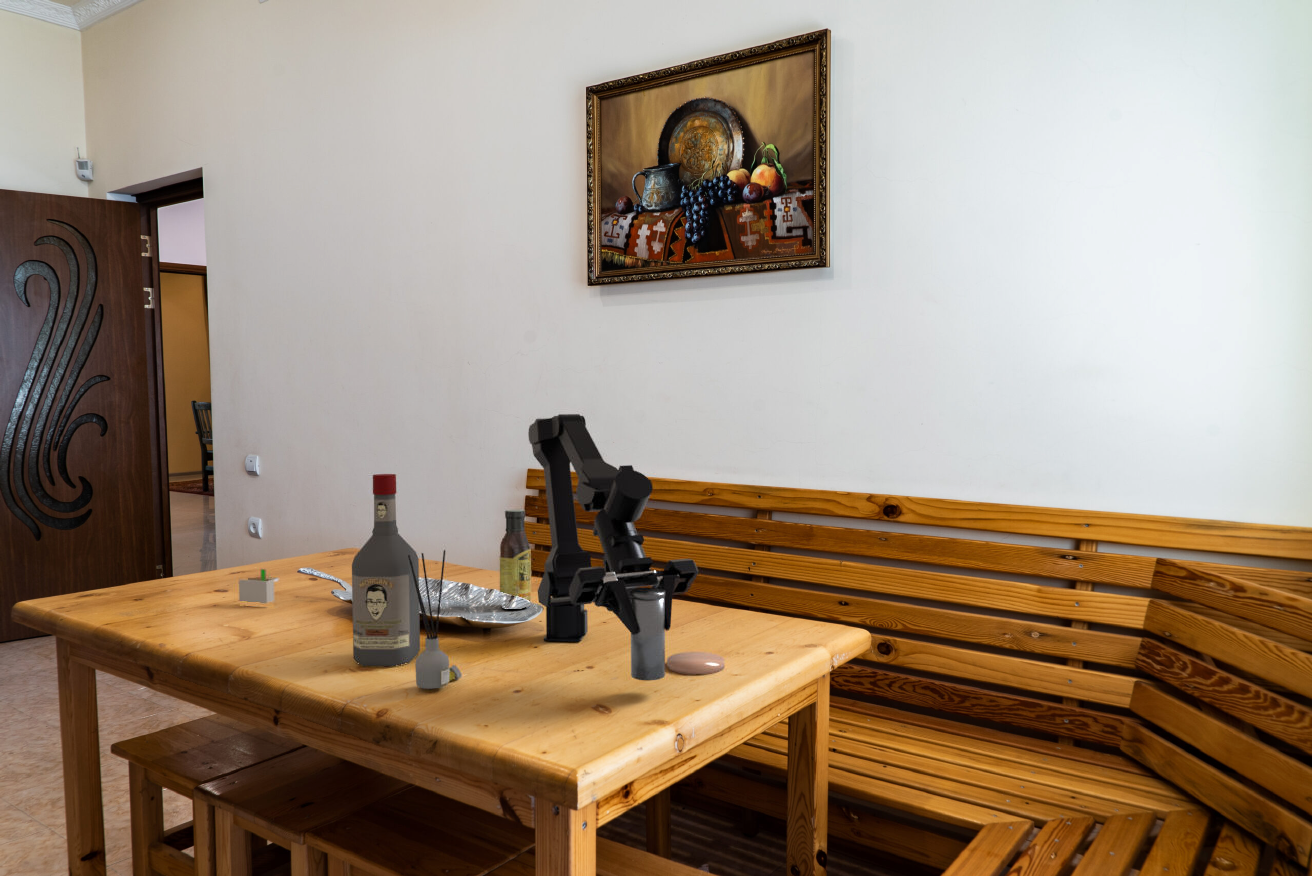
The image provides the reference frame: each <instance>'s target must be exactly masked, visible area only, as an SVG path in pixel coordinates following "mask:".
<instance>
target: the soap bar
mask: <svg viewBox="0 0 1312 876" xmlns="http://www.w3.org/2000/svg"><path fill="white" fill-rule="evenodd" d="M666 667H667V669H669V670H670V671H672V672H675V673H678V674H684V675H693V676H694V675H696V674H700V675H710V674H714V673H718V672H721V671H722V670H724V668H725V658H724V657H723V656H721V655H720V654H716V653H712V652H706V651H705V652H703V651H685V652H684V651H683V652H678V653H674V654H672V655H669V656H668V657H667V658H666Z"/></svg>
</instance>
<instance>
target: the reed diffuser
mask: <svg viewBox="0 0 1312 876" xmlns="http://www.w3.org/2000/svg"><path fill="white" fill-rule="evenodd" d="M442 553H443V554H442V563H441V575H440V584H439V594H438V595H439V596H438V605H437V612H436V625H435V626H434V620H433V613H432V606H431V600H430V590H429V584H428V578H427V577H428V576H427V570H426V564H425V563H426V562H425V557H424V555H425V554H424V552H421V560H422V568H423V574H424V575H423V576H424V580H425V581H424V582H425V589H426V597H427V601H428V603H427V604H428V610H429V616H430V617H429V618H430V624H431V627H430V624H429V620H428V615H427V613H426V609H425V606H424V601H423V598H422V594H421V590H420V586H419V587H418V583H417V580H416V576H415V572H414V569H413V565H412V560H411V558H410V555H408V558H409V562H410V565H411V569H412V573H413V578H414V582H415V586H416V591H417V595H418V599H419V609H420V612H421V616H422V620H423V624H424V629H425V632H426V633H425V634H426V637H425V638H424V639H425V642H424V643H425V644H424V646H425V647H424V648H425V650H423V651H422V652H421V653H420V654H419V655H417V656H416V659H415V663H414V664H415V682H416V686H417V687H418V688H419V689H426V690H427V689H429V690H430V689H438V688H442V687H445V686H447V685H448V684H449V682H452V680H454V679H455V680H456V681H457V680H459V679H461V678H462V677H463V676H462V672H461V670H460V669H459V668H458V666H456V665H455V664H453V665H451V666H450V659H449V655H448V654H446V653H445V652H444V651H442V650H441V649H440V648H439V646H440V643H439V636H438V631H439V620H440V610H441V602H442V601H441V599H442V590H443V589H442V588H443V582H444V581H443V579H444V571H445V570H444V568H445V561H446V560H445V558H446V550H445V549H444V550H443V552H442Z"/></svg>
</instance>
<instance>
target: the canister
mask: <svg viewBox="0 0 1312 876" xmlns="http://www.w3.org/2000/svg"><path fill="white" fill-rule="evenodd" d="M630 597H631V607H632V610H633V613H634V617H635V620H636V626H637V633H636V634H635V635H632V633H631V632H630V676H631V678H633V679H634V680H639V681H657V680H661V679H663V678H665V676H666V644H665V643H666V630H665V590H663V589H659V588H652V587H638V588H637V589H633V590H631V591H630Z"/></svg>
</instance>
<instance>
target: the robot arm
mask: <svg viewBox="0 0 1312 876" xmlns="http://www.w3.org/2000/svg"><path fill="white" fill-rule="evenodd" d="M586 423H587V422H586V419H585V417H584V415H580V414H578V413H577V414H576V413H568V414H567V413H565V414H563V413H562V414H560V413H559V414H558V415H554V416H552V417H548V418H536V419H535V420H534V422H533V423H531V424H530V425H529V427H528V441H529V444H531V448H532V454H533V457H534V458H535V460H536V461H537V462H538V463H539V465H541V467H542V468H543V472H544V474H543V475H544V482H545V492H546V503H547V511H548V523H549V529H550V540H551V550H550V553H549V554H548V556H547V558H546V561H545V563H544V573H543V576H542V577H541V578H542V579H541V582H540V583H539V586H538V589H537V598H538V599H537V600H538V603H539V604H540V605H543V606H544V607H545V614H546V615H545V620H546V621H545V623H546V624H545V625H546V626H545V627H546V628H545V630H546V633H545V634H546V635H544V637H543V641H545V642H575V643H579V642H581V641H582V640H583V638H584V637H585V636H586V634H587V633H588V625H589V624H588V610H587V609H585V605H589V604H590V605H591V604H593V603H594V606H595V607H599V608H600V607H602V608H605V609H606V610H607V611H608V612H612V613H613V614H614V615H615V616H616V617H617V618H618V619H619V620H620V621H621V623H622V624H623V626H625V628H626V629H627V630H628V631H629V632H630V634H631V633H632V635H635V634H636V633H637V626H636V620H635V617H634V613H633V610H632V607H631V597H630V591H631V590H633V589H637V588H645V587H650V588H659V589H663V590H665V632H667V631H669V630H670V629H671V625H672V610H673V609H672V608H673V606H672V605H673V596H675V595H684V594H685V593H687V592H688V591H689V589H690V588H691V587H692V585H693V583H694V581H695V579H696V578H697V576H698V575H699V573H700V572H699V569H698V566H697V564H696V562H695V561H694V560H693V559H691V558H682V559H680V558H679V559H671V560H668V561H667V563H666V565H665V566H664V569H663V570H652V569H651V568H652V565H653V559H652V557H651V556H649V557H647V556H646V553H645V549H644V548H643V543H644V542H645V538H644V536H643V534H638V532H637V529H636V526H635V523H634V522H636V521H638V520H639V519H641V516H642V514H643V511H644V510H645V507H646V505H647V503H648V500H649V499H650V497H651V495H652V492H653V489H654V488H653V487H654V485H653V483H652V480H651V479H649V478H648V477H647V476H646V475H644V473H641V472H639V471H637V470H635V469H634V466H633V465H632V464H631V465H628V464H627V465H619V467H618V468H617V467H616V466H613V464H610V463H607V462H606V461H605V460H604V459H603V456H602V454H601V453H600V451H599V449H598V447H597V445H596V443H595V441H594V440H593V437H592V436H591V433H590V432H589V430H588V429H587V426H586V425H587V424H586ZM571 465H572V467H573V469H574V470H573V471H575V474H576V476H577V478H578V482H577V486H576V490H575V492H576V499H577V503H578V504H579V505H580V506H581V508H582V510H583V511H585V512H588V513H589V512H598V513H596V515H595V517H594V520H593V524H594V526H593V528H592V536H594V537H598V539H599V542H600V545H601V548H602V551H603V554H604V555H603V558H602V563H603V564H602V565H603V566H592V560H591V558H592V557H591V554H590V553H589V551H584V549H583V548H582V546H581V545H580V544H579V536H578V535H579V534H578V525H577V517H576V509H575V500H574V491H573V481H572V473H571Z"/></svg>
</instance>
